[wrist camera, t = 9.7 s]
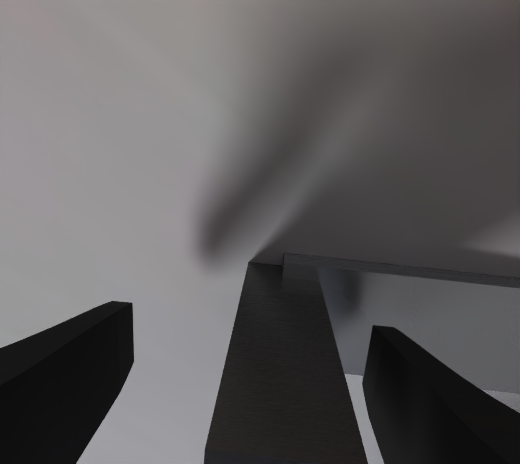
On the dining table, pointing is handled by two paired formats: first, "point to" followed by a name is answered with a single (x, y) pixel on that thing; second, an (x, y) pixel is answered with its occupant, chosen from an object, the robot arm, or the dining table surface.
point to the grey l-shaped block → (346, 350)
